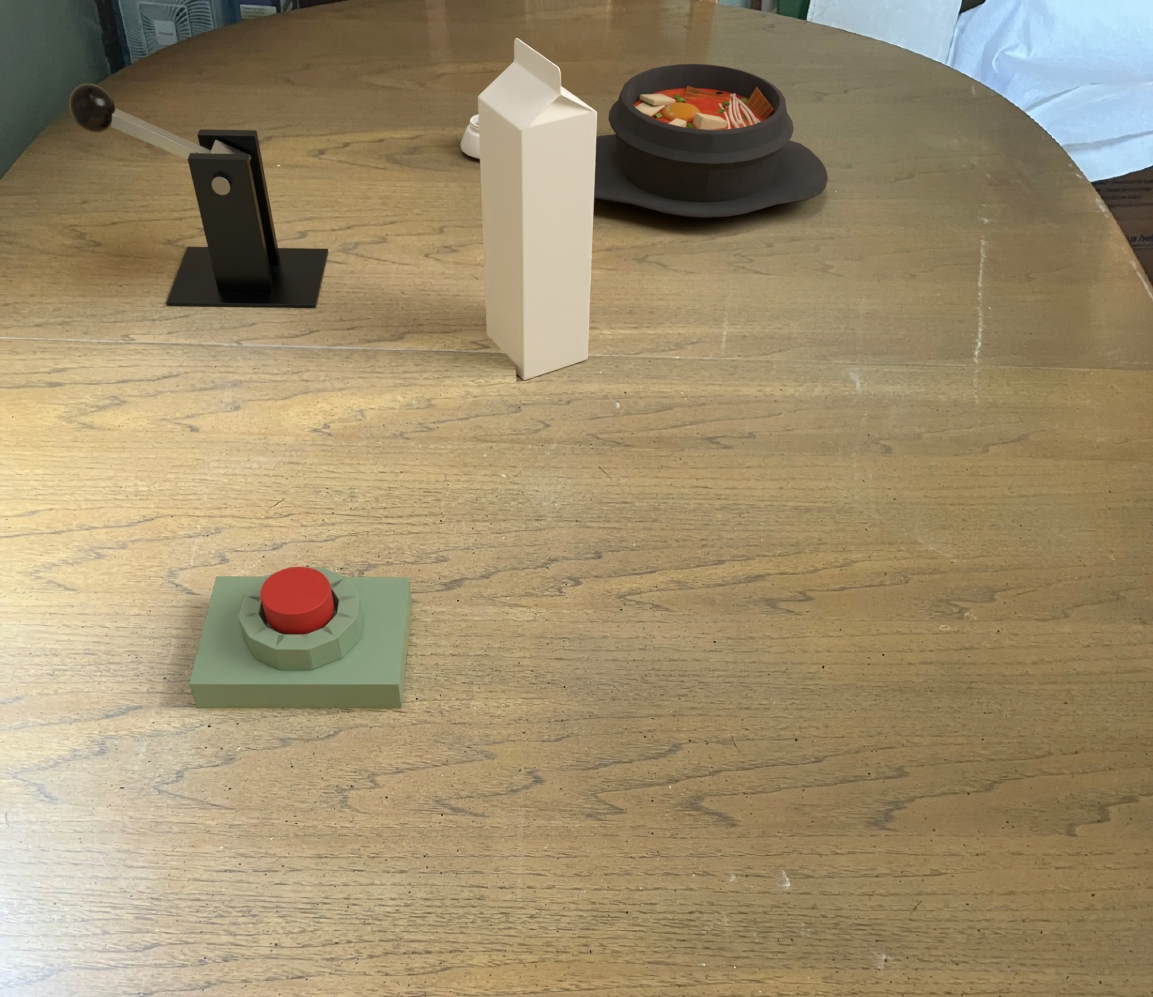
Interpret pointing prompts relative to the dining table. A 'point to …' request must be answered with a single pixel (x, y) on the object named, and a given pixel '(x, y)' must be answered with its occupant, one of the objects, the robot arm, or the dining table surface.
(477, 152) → the lidless jar
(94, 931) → the dining table surface
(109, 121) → the tap lever
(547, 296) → the milk
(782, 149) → the casserole
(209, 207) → the bracket
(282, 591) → the button
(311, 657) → the button block
